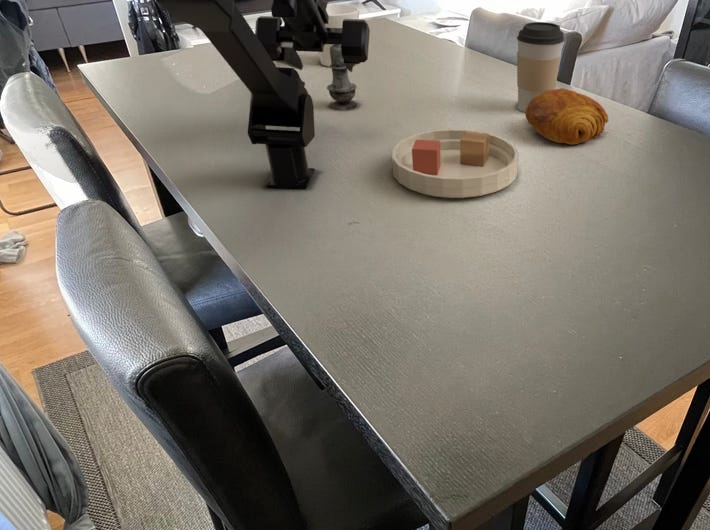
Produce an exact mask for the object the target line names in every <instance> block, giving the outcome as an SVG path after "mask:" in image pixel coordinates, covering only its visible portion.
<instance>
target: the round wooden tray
mask: <svg viewBox="0 0 710 530" xmlns="http://www.w3.org/2000/svg"><path fill="white" fill-rule="evenodd" d="M466 131H469V132H478V133H487V134H490V138H489V158H488V159H487V161H486V163H485V165H484V166H483V167H482V166H473V165H465V164H460V140H461V138H462V137H463V136H464V134H465V133H466ZM415 140H435V141H440V161H441V165H440V168H439V172H438V175H430V174H423V173H420V172H417V171H414V170H413V161H412V148H413V145H414V143H415ZM519 157H520V154H519V150H518V149H517V146H516V145H515V144H513V143H512V142H511V141H509V140H508V139H505V138H503V137H501V136H499V135H496V134H494V133H489V132H485V131H482V130H481V131H480V130H475V129H474V130H473V129H464V128H463V129H459V128H445V129H435V130H427V131H424V132H418V133H415V134H412V135H410V136H406V137H404V138H403V139H401V140H400V141H398V142H397V143H396V144H395V145H394V147H393V148H392V150H391V161H392V175H393V177H394V178H395V179H396V181H397V182H398V183H399V184H400V185H402V186H403V187H405V188H407V189H409V190H411V191H413V192H417V193H420V194H423V195H427V196H431V197H436V198H443V199H444V198H445V199H468V198H476V197H482V196H485V195H489V194H491V193H495V192H498V191H500V190H502V189H504V188H506V187H508V186H510V185H511V184H512V183H513V181H515V180H516V178H517V175H518V169H519Z"/></svg>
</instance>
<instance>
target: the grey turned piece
mask: <svg viewBox="0 0 710 530" xmlns="http://www.w3.org/2000/svg"><path fill="white" fill-rule="evenodd" d="M330 56H331V65H330V67H329V68H330V69H331V74H332V82H331V83H329V85H327V86H326V89H327V91H328V93H329V96H330V98H331V99H332V100H334V101H333V102H332V103H331V104H330V107H331V109H333V110H337V111H348V110H353V109H355V108H357V107H358V103H357V102H355V101H353V99H354V98H355V96H356V89H357V87H358V86H357V85H356V84H355V83H352V82H350V81H351V80H350V78H349V73H348V72H349V70H348V69H347V67H346V66H345V64H344V59H343V57H342V52H341V45H332V46H331V47H330Z"/></svg>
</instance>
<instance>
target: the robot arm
mask: <svg viewBox="0 0 710 530" xmlns="http://www.w3.org/2000/svg"><path fill="white" fill-rule="evenodd" d="M154 1H155V2H156V3H157V4H158V5H159V6H161V7H162V8H163V9H164V10H165V11H166V12H167V13H168V14H169V15H171V16H172V17H173V18H175V19H177V20H179V21H182V22H184V23H186V24H188V25H190V26H193V27H195V28H197V29H198V30H200V31H201V32H202V34H204V35H205V37H206V38H207V39H208V41H209V42H210V43H211V44H212V45H213V47H214V48H215V49H216V51H217V52H218V54H219V55H220V56H221V57H222V58H223V59H224V61H225V62H226V63H227V64H228V66H229V67H230V68H231V70H232V71H233V72H234V73H235V75H236V76H237V77H238V78H239V80H240V81H241V82H242V84H244V86H245V87H246V89H247V90H248V91H249V92H250V100H249V101H250V102H249V114H248V115H249V116H248V124H247V135H248V138H249V140H250V143H251V144H252V145H265V150H266V154H267V159H268V164H269V168H270V172H271V175H270V176H269V178H268V179H267V181H266V183H265V186H266V188H286V189H287V188H288V189H289V188H290V189H307V188H309V186H310V184H311V181H312V180H313V178H314V176H315V174H316V172H317V171H316V169H315V168H314V167H309V165H308V160H307V154H306V148H307V147H308V146H309V145H310V143H312V141H313V139H314V138H315V135H316V133H315V132H316V131H315V109H314V101H313V98H312V96H311V95H310V93H309V92H308V90H307V88H306V87H305V86H306V82H305V81H303V80H302V79H301V77H300V74H299V72H298V71H297V70H300V71H302V70H303V67H304V66H303V65H304V64H303V62H302V59H301V57H300V55H299V54H298V52H308V53H309V52H311V53H319V52H323V49H324V45H325V44H334V45H341V52H342V57H343V59H344V64H345V66H346V67H347V71H348V72H349V73H350V72H351V73H352V72H353V70H354V69H353V68H354V66H355V65H360V64H361V63H366V61H368V59H369V46H370V33H371V29H370V27H369V24H368V22H367V21H366V20H365V19H360V18H359V19H344V20H343V25H342V28H326V27H325V24H328V21H329V16H328V13H327V11H326V8H327V4H329V1H330V0H271V5H270V12H271V16H269V15H268V16H265V15H264V16H263V15H260V16H259V17H257V19H256V21H255V28H254V29H255V30H253V29H252V27H251V26H250V25H249V23H248V21H247V20H246V18H245V17H244V15H243V13H242V12H241V11H240V8H238V6H237V4H236V3H235V0H154ZM283 23H284V24H283ZM275 62H276V63H279V64H283V65H286V66H288V67H283V66H277V65H276V64H275ZM266 127H279V128H280V127H281V128H298V129H299V130H289V129H273V128H272V129H270V128H266Z"/></svg>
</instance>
